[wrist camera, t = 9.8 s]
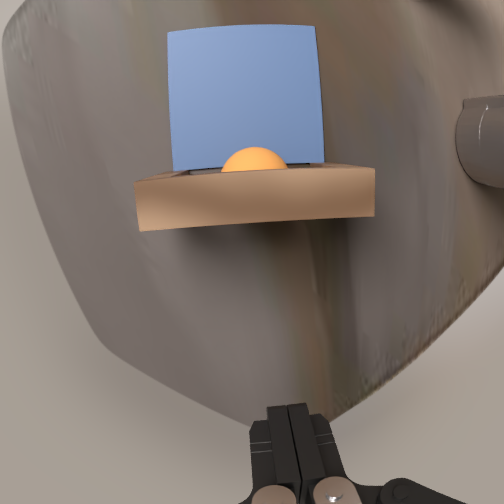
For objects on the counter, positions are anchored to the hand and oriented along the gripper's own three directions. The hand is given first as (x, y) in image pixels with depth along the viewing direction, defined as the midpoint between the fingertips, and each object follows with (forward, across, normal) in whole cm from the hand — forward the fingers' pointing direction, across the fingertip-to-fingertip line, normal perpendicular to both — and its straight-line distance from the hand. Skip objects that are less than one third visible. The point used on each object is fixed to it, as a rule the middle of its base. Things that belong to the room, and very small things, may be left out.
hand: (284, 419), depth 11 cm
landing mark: (+19, 0, -15) cm, 24 cm away
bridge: (+19, 0, -7) cm, 20 cm away
